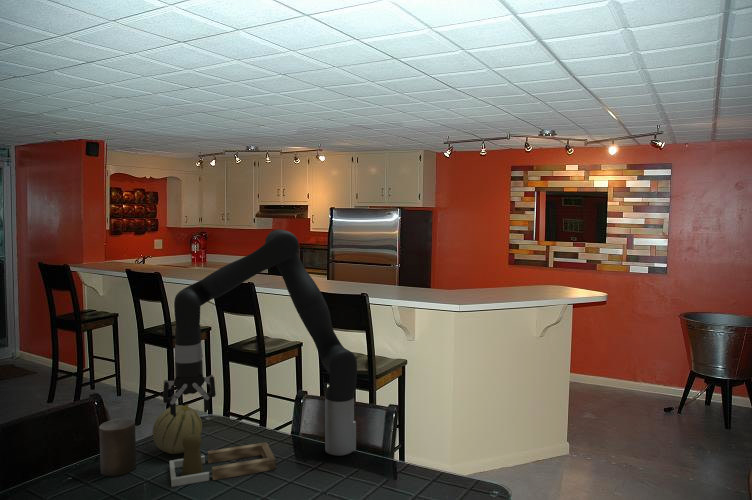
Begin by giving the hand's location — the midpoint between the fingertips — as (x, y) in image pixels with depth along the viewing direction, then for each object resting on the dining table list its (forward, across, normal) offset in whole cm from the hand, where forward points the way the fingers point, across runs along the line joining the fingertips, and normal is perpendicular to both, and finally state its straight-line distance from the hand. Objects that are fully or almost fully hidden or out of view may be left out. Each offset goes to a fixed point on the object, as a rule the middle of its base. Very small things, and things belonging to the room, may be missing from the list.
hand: (190, 413), depth 158 cm
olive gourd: (+18, 0, 0) cm, 18 cm away
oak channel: (+18, -14, 0) cm, 23 cm away
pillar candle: (+18, +20, -11) cm, 29 cm away
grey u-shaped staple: (+18, 0, 0) cm, 18 cm away
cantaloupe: (+18, +3, -17) cm, 25 cm away
